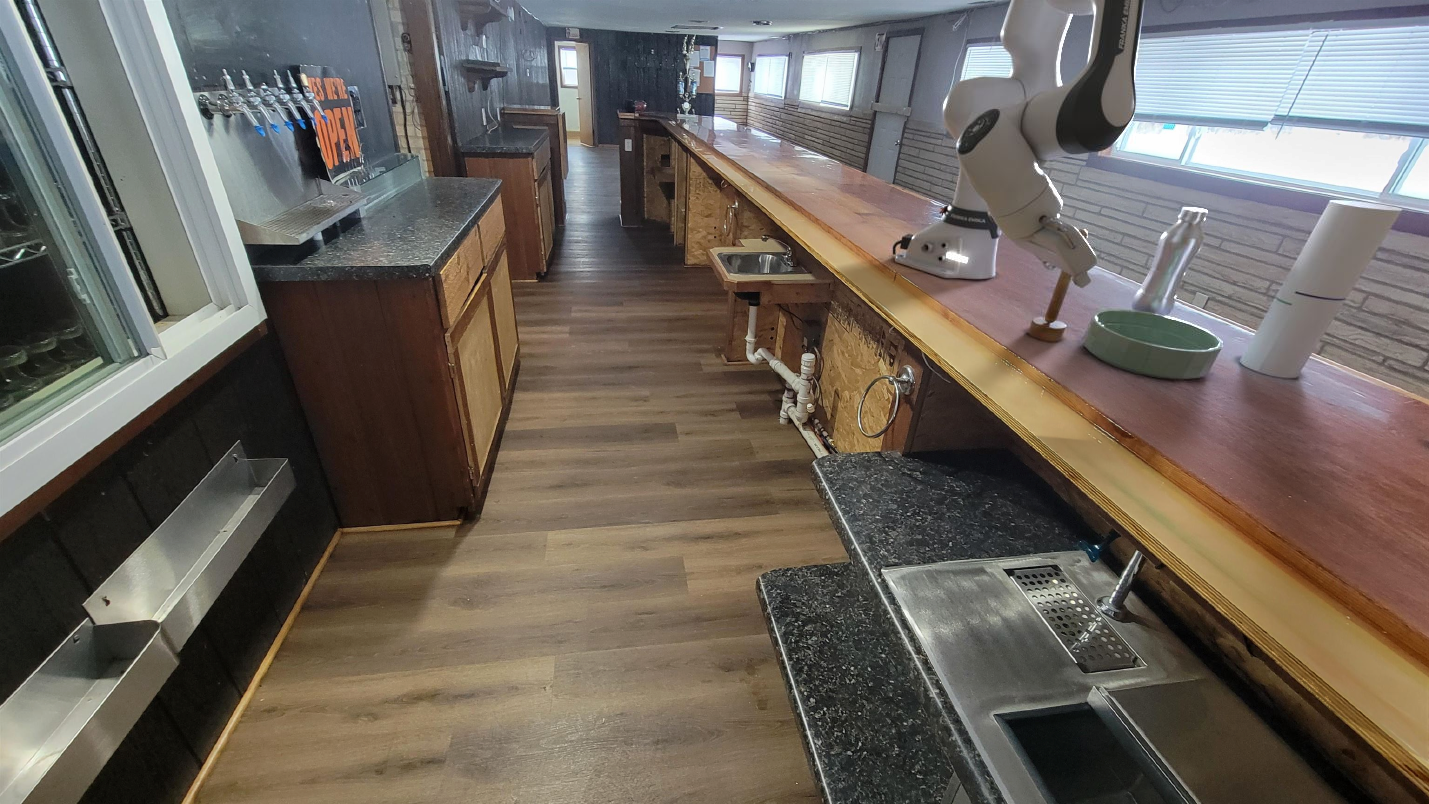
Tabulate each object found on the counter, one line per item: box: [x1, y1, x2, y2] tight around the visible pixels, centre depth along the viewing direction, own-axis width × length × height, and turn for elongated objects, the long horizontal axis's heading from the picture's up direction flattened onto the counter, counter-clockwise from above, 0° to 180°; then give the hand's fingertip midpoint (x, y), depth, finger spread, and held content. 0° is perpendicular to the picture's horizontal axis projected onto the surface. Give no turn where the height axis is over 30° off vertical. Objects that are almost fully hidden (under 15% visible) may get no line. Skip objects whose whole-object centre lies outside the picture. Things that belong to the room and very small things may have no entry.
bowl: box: [1082, 308, 1224, 380], centre depth 90 cm, size 17×17×5 cm
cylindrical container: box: [1239, 199, 1403, 379], centre depth 84 cm, size 7×7×25 cm
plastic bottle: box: [1130, 206, 1208, 317], centre depth 104 cm, size 6×7×20 cm
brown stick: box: [1027, 228, 1088, 342], centre depth 93 cm, size 5×5×18 cm
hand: (1067, 275), depth 92 cm, fingers open, 8 cm apart
